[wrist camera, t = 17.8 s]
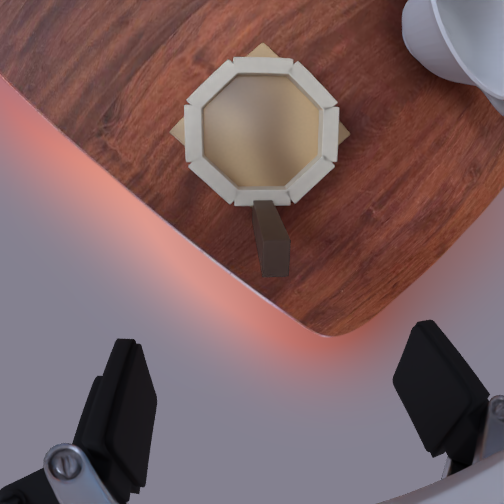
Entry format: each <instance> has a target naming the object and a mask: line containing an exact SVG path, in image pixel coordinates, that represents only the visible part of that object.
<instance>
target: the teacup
mask: <svg viewBox="0 0 504 504" xmlns="http://www.w3.org/2000/svg"><path fill="white" fill-rule="evenodd" d="M402 35H403V40H404V43H405V45H406V47H407V49H408V50H409V52H410V53H411V54H412V55H413V56H414V57H415V58H416V59H417V60H418V61H419V62H420V63H421V64H422V65H423V66H424V67H425V68H427V69H428V70H429V71H430V72H432V73H434V74H435V75H437V76H439V77H441V78H444V79H446V80H449V81H453V82H457V83H463V84H469V85H474V86H477V87H478V88H479V89H480V90H481V91H482V92H483V93H484V94H485V95H486V97H487V98H488V100H489V101H490V102H491V104H492V105H493V106H494V108H495V109H496V110H497V111H498V112H499V113H500V114H501V115H502V116H504V101H503V100H504V0H408V2H407V3H406V5H405V7H404V9H403V13H402Z"/></svg>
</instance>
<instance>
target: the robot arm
mask: <svg viewBox="0 0 504 504" xmlns="http://www.w3.org/2000/svg"><path fill="white" fill-rule="evenodd" d="M393 385H394V387H395V389H396V391H397V393H398V395H399V397H400V399H401V401H402V403H403V404H404V406H405V408H406V410H407V412H408V414H409V416H410V418H411V420H412V422H413V424H414V426H415V428H416V430H417V432H418V434H419V437H420V439H421V441H422V442H423V445H424V447H425V449H426V451H428V452H430V453H431V455H432V457H433V458H434V457H436V456H438V455H441V454H443V453H444V452H445V451H446V453H447V455H448V457H447V461H446V464H445V468H444V471H443V475H442V478H441V480H440V481H437V482H435V483H433V484H430V485H428V486H425V487H423V488H420V489H418V490H416V491H413V492H410V493H407V494H405V495H402V496H399V497H396V498H393V499H390V500H387V501H384V502H381V503H378V504H504V396H503V395H497V396H494V397H493V398H491V400H490V401H489V400H488V399H487V398H488V397H489V395H490V394H489V392H488V391H487V390H486V388H485V387H484V386H483V384H482V383H481V381H480V380H479V378H478V377H477V376H476V374H475V373H474V372H473V370H472V369H471V368H470V366H469V365H468V364H467V362H466V361H465V360H464V358H463V357H462V356H461V354H460V353H459V352H458V351H457V349H456V348H455V347H454V346H453V344H452V343H451V342H450V341H449V339H448V338H447V337H446V335H445V334H444V333H443V332H442V331H441V329H440V328H439V327H438V326H437V324H436V323H435V322H434V321H433V320H426V321H420V322H417V324H416V325H415V326H414V327H413V328H412V330H411V334H410V336H409V339H408V341H407V344H406V347H405V349H404V352H403V354H402V357H401V359H400V362H399V364H398V367H397V369H396V371H395V374H394V376H393ZM156 407H157V396H156V393H155V390H154V387H153V384H152V380H151V377H150V374H149V370H148V367H147V364H146V360H145V357H144V354H143V350H142V346H141V344H136V341H135V340H134V339H117V340H116V342H115V344H114V347H113V349H112V352H111V354H110V357H109V360H108V362H107V365H106V368H105V370H104V373H103V376H97V377H96V378H95V380H94V382H93V384H92V387H91V390H90V393H89V395H88V398H87V401H86V404H85V407H84V409H83V413H82V415H81V418H80V421H79V424H78V427H77V430H76V434H75V437H74V440H73V443H72V444H69V443H63V444H58V445H56V446H54V447H52V448H51V449H50V450H49V451H48V452H47V453H46V455H45V458H44V462H43V467H44V468H42V469H40V470H38V471H36V472H34V473H32V474H30V475H28V476H26V477H24V478H22V479H20V480H17V481H15V482H13V483H11V484H9V485H7V486H5V487H3V488H2V489H1V490H0V504H128V503H127V502H128V501H129V498H130V493H136V494H139V491H140V487H145V484H146V477H147V469H148V461H149V453H150V446H151V439H152V432H153V426H154V420H155V414H156Z"/></svg>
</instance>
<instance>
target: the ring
mask: <svg viewBox="0 0 504 504" xmlns="http://www.w3.org/2000/svg"><path fill="white" fill-rule="evenodd" d="M237 75H263V76H286V77H287V78H288V79H289V80H290V81H291V82H292V83H293V84H294V85H295V86H296V87H297V88H298V89H299V90H300V91H301V92H302V93H303V94H304V95H305V96H306V97H307V98H308V99H309V100H310V101H311V102H312V103H313V104H314V105H315V107H316V108H317V109H318V110H319V127H318V155H317V156H316V157H315V158H314V159H313V160H312V161H311V162H309V163H308V164H307V165H306V166H305V167H304V168H303V169H302V170H301V171H300V172H299V173H298V174H297V175H296V176H295V177H294V178H292V179H291V180H290V181H289V182H288V183H287V184H286V185H285V186H240V187H238V186H237V185H236V184H235V183H234V182H233V181H232V180H231V179H230V178H229V177H228V176H227V175H225V174H224V173H223V172H222V171H221V170H220V169H219V168H218V167H217V166H216V165H215V164H214V163H212V162H211V161H210V160H209V159H208V158H207V157H206V156H205V155H204V124H203V108H204V107H205V106H206V105H207V104H208V103H209V102H210V101H211V100H212V99H213V98H214V97H215V96H216V95H217V94H218V93H219V92H221V91H222V90H223V89H224V88H225V87H226V86H227V85H228V84H229V83H230V82H231V81H232V80H233V79H234V78H235V77H236V76H237ZM187 102H188V103H190V104H191V105H184V125H185V155H186V162H192V163H191V164H190V165H189V166H188V167H189V168H190V169H191V170H192V171H193V172H194V173H195V174H197V175H198V176H199V177H200V178H201V179H202V180H203V181H204V182H205V183H207V184H208V185H209V186H210V187H211V188H212V189H213V190H214V191H215V192H216V193H218V194H219V195H220V196H221V197H222V198H223V199H224V200H225V201H226V202H227V203H229V204H231V203H232V202H233V201H234V205H235V206H252V223H253V229H254V234H255V240H256V245H257V250H258V256H259V261H260V267H261V272H262V277H286V276H289V261H290V243H291V240H290V238H289V236H288V234H287V231H286V229H285V227H284V225H283V223H282V220H281V218H280V216H279V214H278V212H277V209H276V207H275V206H289V205H291V200H292V201H293V202H294V203H297V202H298V201H299V200H300V199H301V198H302V197H303V196H304V195H305V194H306V193H307V192H308V191H309V190H310V189H312V188H313V187H314V186H315V185H316V184H317V183H318V182H319V181H320V180H321V179H322V178H323V177H324V176H325V175H326V174H328V173H329V172H330V171H331V170H332V169H333V168H334V167H335V165H334V164H333V163H332V162H337V154H338V132H339V107H333V106H335V105H336V104H337V101H336V100H335V99H334V98H333V97H332V96H331V95H330V93H329V92H328V91H327V90H326V89H325V88H324V87H323V86H322V85H321V84H320V83H319V82H318V80H317V79H316V78H315V77H314V76H313V75H312V74H311V73H310V72H309V71H308V70H307V69H306V68H305V67H304V66H303V65H302V64H301V63H300V62H299V61H297V62H296V63H295V64H294V65H293V59H290V58H271V57H234V58H233V63H232V62H231V61H230V60H229V59H228V60H227V61H226V62H225V63H223V64H222V65H221V66H220V67H219V68H218V69H217V70H216V71H215V72H214V73H213V74H212V75H211V76H210V77H209V78H208V79H207V80H206V81H205V82H204V83H202V84H201V85H200V86H199V87H198V88H197V89H196V90H195V91H194V93H193V94H192V95H191V96H190V97H189V98H188V99H187Z"/></svg>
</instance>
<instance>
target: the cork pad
mask: <svg viewBox="0 0 504 504" xmlns="http://www.w3.org/2000/svg"><path fill="white" fill-rule="evenodd" d="M246 57H271V58H279V57H278V56H277V55H276V54H275V53H274V52H273V51H272V50H271V49H270V48H269V47H268V46H267V45H265V44H264V43H261V44H260V45H259V46H258V47H257V48H255V49H254V50H253V51H252V52H251V53H250V54H248V55H247V56H246ZM203 124H204V155H205V156H206V157H207V158H208V159H209V160H210V161H211V162H212V163H214V164H215V165H216V166H217V167H218V168H219V169H220V170H221V171H222V172H223V173H224V174H225V175H227V176H228V177H229V178H230V179H231V180H232V181H233V182H234V183H235V184H236V185H237V186H238V187H240V186H285V185H286V184H287V183H288V182H289V181H290V180H291V179H292V178H294V177H295V176H296V175H297V174H298V173H299V172H300V171H301V170H302V169H303V168H304V167H305V166H306V165H307V164H308V163H309V162H311V161H312V160H313V159H314V158H315V157H316V156H317V155H318V127H319V110H318V109H317V108H316V107H315V105H314V104H313V103H312V102H311V101H310V100H309V99H308V98H307V97H306V96H305V95H304V94H303V93H302V92H301V91H300V90H299V89H298V88H297V87H296V86H295V85H294V84H293V83H292V82H291V81H290V80H289V79H288V78H287V77H286V76H263V75H237V76H236V77H235V78H234V79H233V80H232V81H231V82H230V83H229V84H228V85H227V86H226V87H225V88H224V89H223V90H222V91H221V92H219V93H218V94H217V95H216V96H215V97H214V98H213V99H212V100H211V101H210V102H209V103H208V104H207V105H206V106H205V107H204V108H203ZM170 133H171V134H172V135H173V136H174V137H175V138H176V139H177V140H178V141H179V142H181V143H182V144H183V145H184V146H185V125H184V117H183V118H182V119H181V120H180V121H179V122H178V123H177V124H176V125H175V126H174V127H173V129H172V130H171V131H170ZM349 135H350V133H349V131H348V130H347V129H346V128H345V127H344V125H343V124H342V123H341V122H340V121H339V132H338V145H339V144H340V143H341V142H342V141H344V140H345V139H346V138H347V137H348V136H349ZM250 207H251V208H252V206H250Z"/></svg>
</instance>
